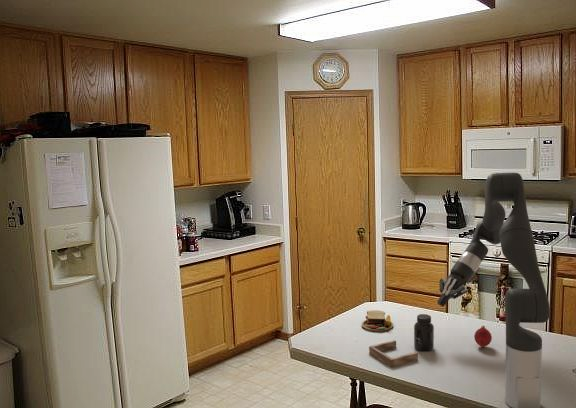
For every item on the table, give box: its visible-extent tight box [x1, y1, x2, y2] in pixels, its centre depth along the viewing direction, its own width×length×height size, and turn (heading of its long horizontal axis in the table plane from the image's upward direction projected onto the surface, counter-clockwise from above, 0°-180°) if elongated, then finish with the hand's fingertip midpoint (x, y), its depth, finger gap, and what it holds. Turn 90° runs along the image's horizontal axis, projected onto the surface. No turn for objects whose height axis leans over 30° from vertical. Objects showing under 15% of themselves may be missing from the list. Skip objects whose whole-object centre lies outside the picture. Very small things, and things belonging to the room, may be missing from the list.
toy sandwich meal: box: [361, 309, 394, 333], centre depth 211 cm, size 12×14×5 cm
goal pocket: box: [368, 339, 419, 368], centre depth 183 cm, size 11×13×2 cm
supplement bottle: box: [413, 313, 435, 353], centre depth 188 cm, size 7×7×12 cm
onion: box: [473, 324, 493, 348], centre depth 187 cm, size 6×6×8 cm
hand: (440, 304), depth 190 cm, fingers closed
